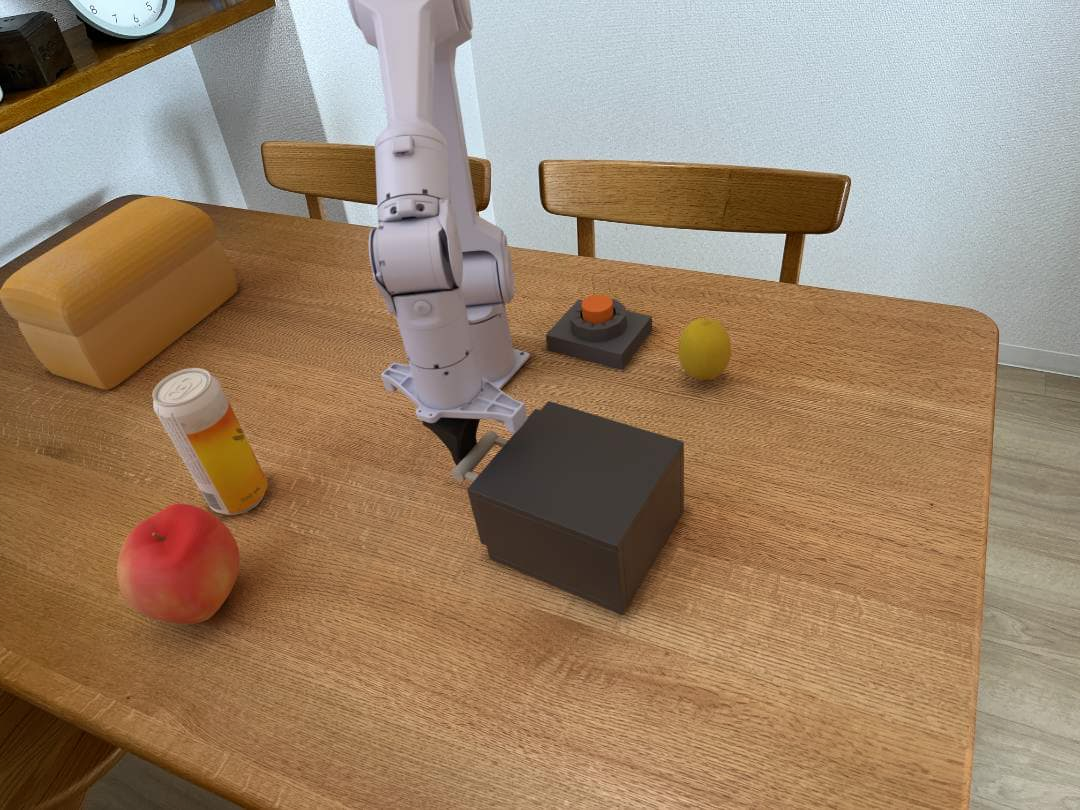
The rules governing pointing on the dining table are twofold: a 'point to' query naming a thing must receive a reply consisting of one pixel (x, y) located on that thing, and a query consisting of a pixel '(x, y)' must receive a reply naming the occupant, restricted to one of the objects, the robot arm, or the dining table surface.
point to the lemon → (704, 349)
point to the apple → (178, 565)
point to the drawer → (474, 459)
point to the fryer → (583, 503)
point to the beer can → (210, 440)
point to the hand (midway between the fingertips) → (467, 461)
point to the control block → (600, 335)
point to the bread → (120, 290)
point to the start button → (597, 309)
